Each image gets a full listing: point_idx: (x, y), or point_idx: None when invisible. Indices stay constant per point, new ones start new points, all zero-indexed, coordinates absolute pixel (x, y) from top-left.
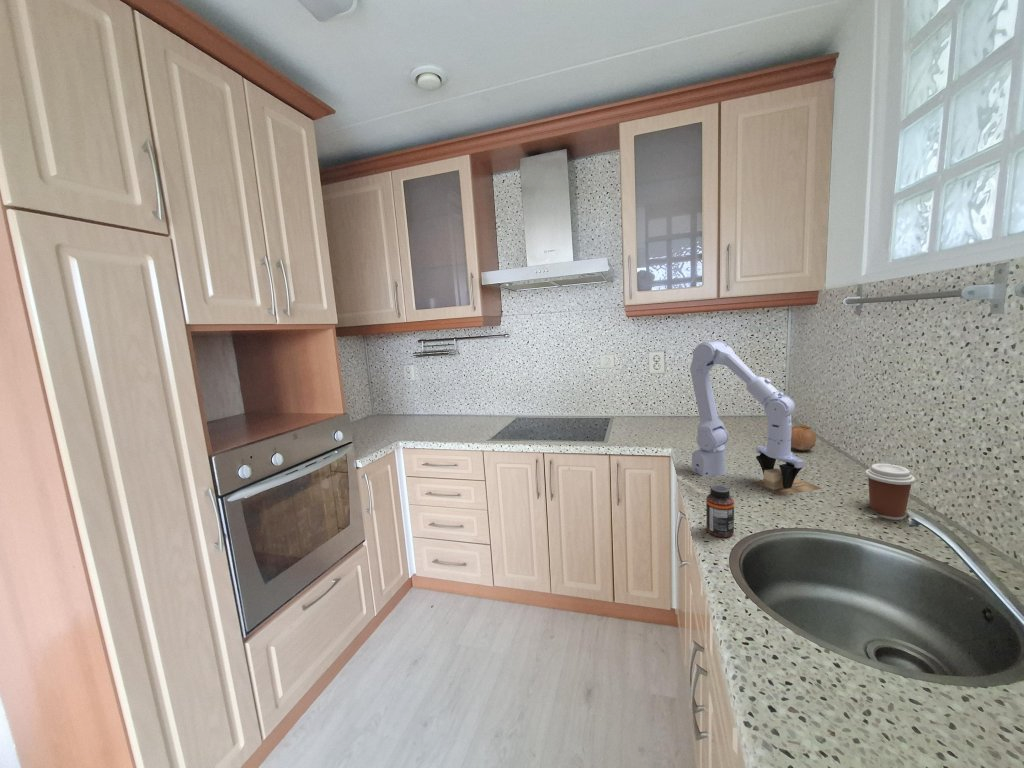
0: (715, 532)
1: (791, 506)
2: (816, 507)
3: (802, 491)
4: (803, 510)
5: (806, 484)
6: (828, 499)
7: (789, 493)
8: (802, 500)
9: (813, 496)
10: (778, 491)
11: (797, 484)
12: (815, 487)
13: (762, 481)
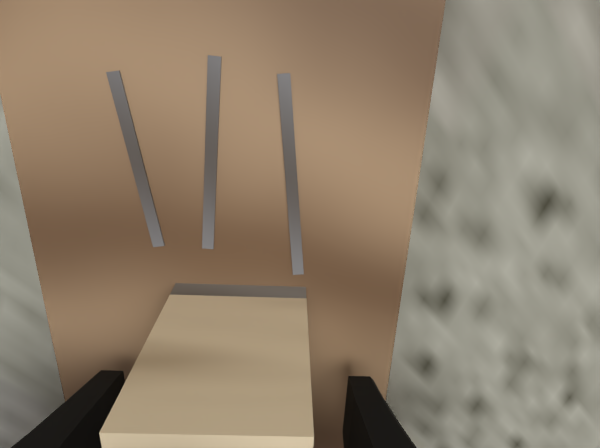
0: None
1: (487, 443)
2: (590, 325)
3: (405, 262)
4: (565, 427)
5: (279, 56)
6: (563, 102)
7: (384, 382)
8: (459, 315)
9: (450, 169)
10: (318, 423)
11: (244, 154)
12: (388, 39)
13: (81, 382)
